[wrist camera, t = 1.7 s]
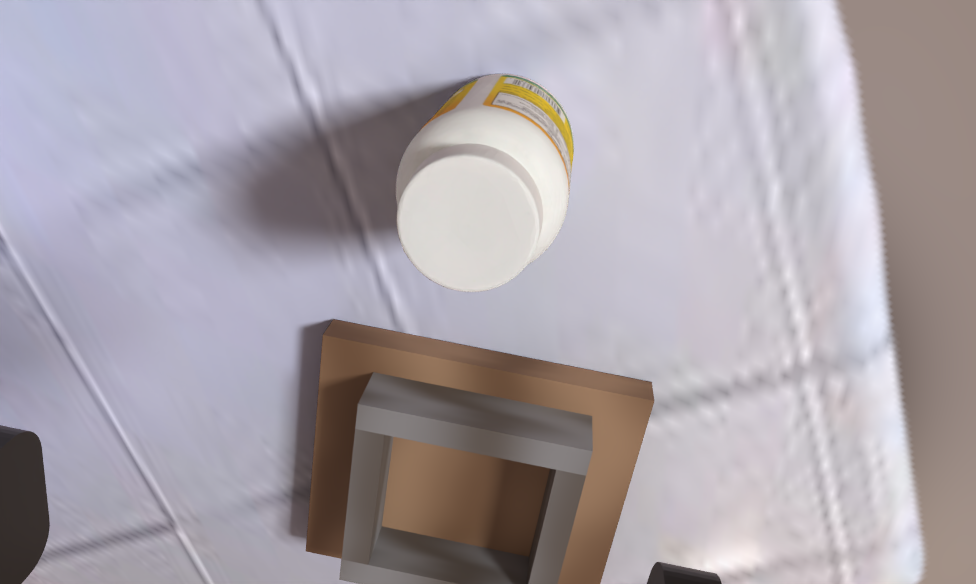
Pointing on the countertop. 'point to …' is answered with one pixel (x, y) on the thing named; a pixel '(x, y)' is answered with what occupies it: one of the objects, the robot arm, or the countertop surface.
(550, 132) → the supplement bottle
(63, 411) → the countertop surface
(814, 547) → the countertop surface
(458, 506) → the socket stand
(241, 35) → the countertop surface
